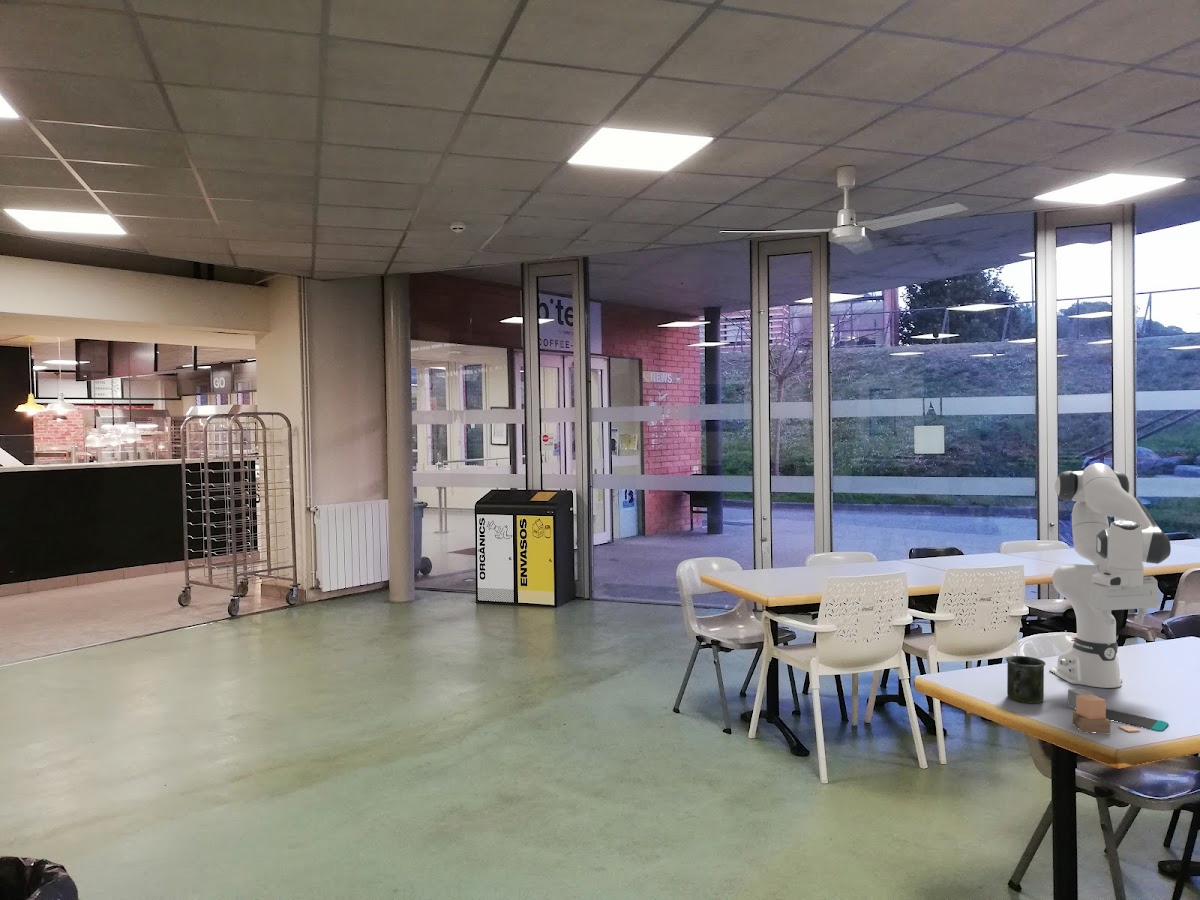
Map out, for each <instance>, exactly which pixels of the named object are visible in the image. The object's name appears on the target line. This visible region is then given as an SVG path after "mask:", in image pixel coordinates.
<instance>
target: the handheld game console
mask: <svg viewBox="0 0 1200 900" xmlns="http://www.w3.org/2000/svg"><path fill="white" fill-rule="evenodd" d="M1106 718H1107V719H1109V720H1114V721H1118V722H1122V723H1121V724H1123V723H1125V724H1124V725H1127V724H1130V725H1129V726H1132V725H1134V726H1133V727H1136V726H1139V727H1138V728H1141V727H1143V728H1142V729H1145V728H1146V730H1150V729H1151V730H1150V731H1154V730H1155V732H1164V731H1165V730H1166V729H1167V728H1168V727H1169V723H1168V722H1167V721H1164V720H1162V719H1161V720H1159V719H1158V720H1157V719H1154V718H1150V717H1146V716H1140V715H1138V714H1137V715H1136V714H1131V713H1126V712H1123V711H1118V710H1115V709H1114V710H1113V709H1108V708H1106ZM1114 721H1113V722H1114ZM1118 722H1117V723H1118Z"/></svg>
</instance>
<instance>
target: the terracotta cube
mask: <svg viewBox="0 0 1200 900" xmlns="http://www.w3.org/2000/svg"><path fill="white" fill-rule="evenodd" d="M1106 701H1107V700H1106V699H1104V698H1101V697H1099V696H1097V695H1096V694H1095V695H1092V694H1091V695H1076V709H1075V711H1076V713H1077V714H1079V715H1082V716H1084V717H1086V718H1088V719H1100V718H1106V709H1107V708H1106V707H1107V704H1106V703H1107V702H1106Z"/></svg>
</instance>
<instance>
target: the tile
mask: <svg viewBox="0 0 1200 900" xmlns="http://www.w3.org/2000/svg"><path fill="white" fill-rule="evenodd" d="M1118 727H1119V728H1118ZM1118 727H1117V728H1118V729H1120V728H1121V729H1120V730H1122V729H1123V731H1124V730H1125V732H1126V731H1128V732H1127V733H1139V731H1140V732H1141V730H1140V729H1138V728H1136V727H1134V726H1132V725H1120V726H1118Z"/></svg>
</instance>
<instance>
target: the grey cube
mask: <svg viewBox="0 0 1200 900" xmlns="http://www.w3.org/2000/svg"><path fill="white" fill-rule="evenodd" d="M1067 691H1068V692H1067V697H1068V698H1067V702H1068V703H1067V704H1068V705H1069V706H1068V705H1067V706H1068V707H1070V706H1071V707H1070V708H1072V707H1073V708H1072V709H1074V708H1076V695H1091V694H1092V695H1095V696H1096V693H1095V692H1093V691H1090V690H1087V689H1085V688H1072V689H1070V688H1069V689H1068V690H1067Z"/></svg>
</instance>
